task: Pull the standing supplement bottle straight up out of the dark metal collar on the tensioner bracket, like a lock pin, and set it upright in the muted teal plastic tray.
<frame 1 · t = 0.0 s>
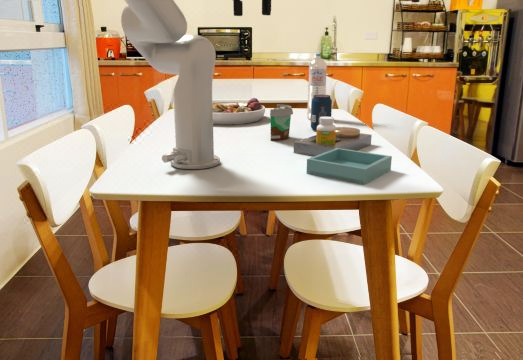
hand: (251, 15, 132), 37 cm above the table, tool pointing down, fingers open, 9 cm apart
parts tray: (349, 171, 117), on the table
supplement bottle: (325, 152, 137), resting in tensioner bracket
soda can: (320, 130, 168), on the table
water bottle: (315, 119, 190), on the table
food container: (282, 138, 155), on the table
bowl: (226, 120, 189), on the table
tensioner bracket: (325, 151, 137), on the table
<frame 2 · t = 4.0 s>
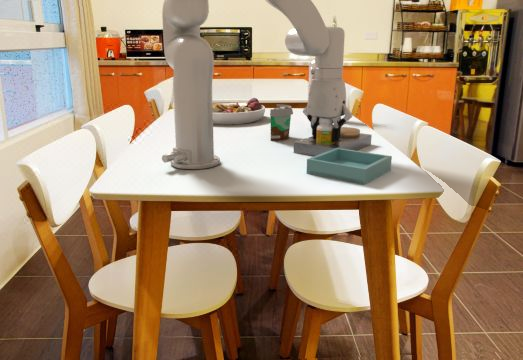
hand: (325, 139, 136), 4 cm above the table, tool pointing down, fingers closed on supplement bottle, 5 cm apart
supplement bottle: (325, 152, 137), resting in tensioner bracket, touching gripper
everything else where it was.
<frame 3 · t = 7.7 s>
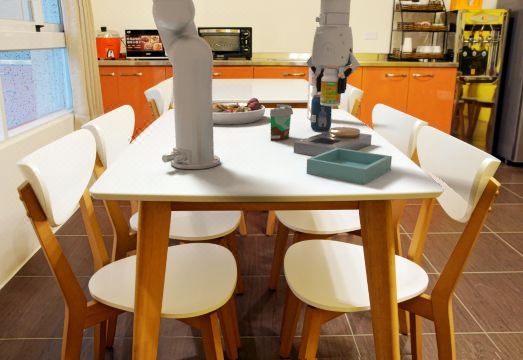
hand: (330, 91, 129), 17 cm above the table, tool pointing down, fingers closed on supplement bottle, 5 cm apart
supplement bottle: (330, 105, 130), point 13 cm above the table, touching gripper
everything else where it was.
when the fingers open (6 cm above the table, at t = 11.7 s): supplement bottle drops 1 cm, resting on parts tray.
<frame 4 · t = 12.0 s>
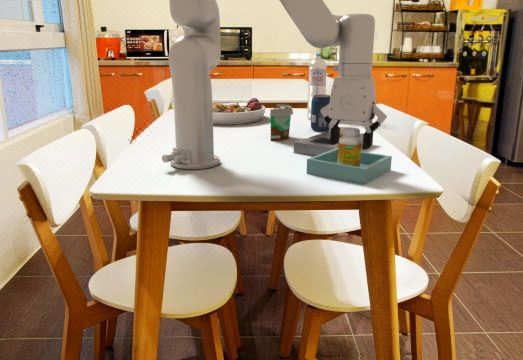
hand: (350, 145, 115), 6 cm above the table, tool pointing down, fingers open, 7 cm apart
supplement bottle: (348, 168, 117), point 1 cm above the table, touching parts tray
everything else where it was.
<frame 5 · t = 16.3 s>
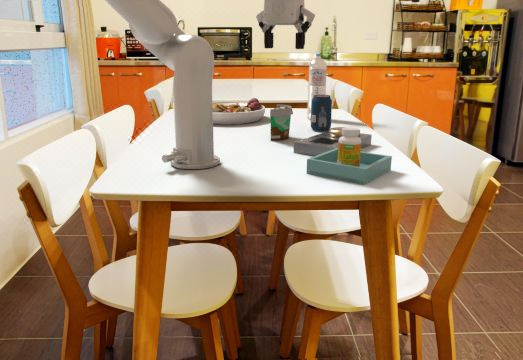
hand: (284, 48, 126), 28 cm above the table, tool pointing down, fingers open, 9 cm apart
nothing on the table moved.
at the end: supplement bottle inside the target area on the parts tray (0.2 cm from its centre), point 0.6 cm above the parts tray's base; the gripper is holding nothing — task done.
